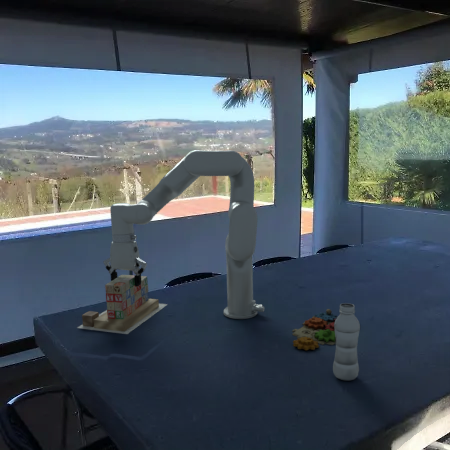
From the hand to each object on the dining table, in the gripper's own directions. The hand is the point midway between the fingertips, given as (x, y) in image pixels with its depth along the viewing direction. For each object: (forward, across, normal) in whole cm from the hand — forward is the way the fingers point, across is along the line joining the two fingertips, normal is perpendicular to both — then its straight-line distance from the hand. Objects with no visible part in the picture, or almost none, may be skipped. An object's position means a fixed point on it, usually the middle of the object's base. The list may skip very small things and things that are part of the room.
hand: (126, 284), depth 165 cm
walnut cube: (+12, +9, +10) cm, 18 cm away
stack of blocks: (+10, 0, -1) cm, 10 cm away
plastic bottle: (+13, -79, +22) cm, 83 cm away
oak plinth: (+12, 0, 0) cm, 12 cm away
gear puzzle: (+14, -68, -6) cm, 70 cm away
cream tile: (+13, +2, -1) cm, 13 cm away
